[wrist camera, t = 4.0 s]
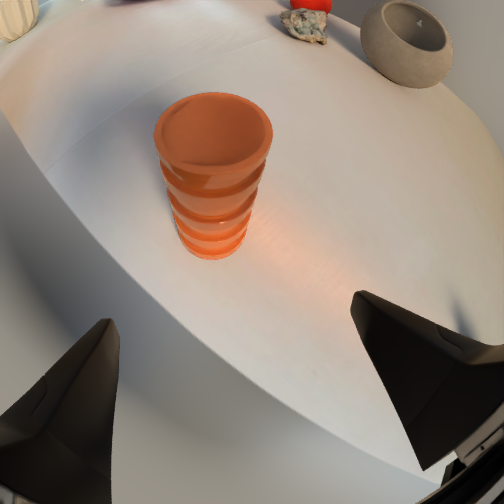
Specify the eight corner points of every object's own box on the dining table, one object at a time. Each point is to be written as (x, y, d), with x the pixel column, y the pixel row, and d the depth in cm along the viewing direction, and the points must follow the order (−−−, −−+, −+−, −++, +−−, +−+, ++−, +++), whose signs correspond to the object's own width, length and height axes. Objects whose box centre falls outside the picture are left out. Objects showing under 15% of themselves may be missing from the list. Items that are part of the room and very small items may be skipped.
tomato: (287, 14, 45) (293, -10, 38) (288, 3, 49) (293, -17, 42) (329, 25, 46) (338, 2, 39) (325, 13, 50) (332, -7, 43)
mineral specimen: (294, 58, 45) (311, 36, 46) (325, 52, 39) (341, 30, 40) (266, 24, 38) (287, 5, 39) (297, 13, 32) (317, -5, 33)
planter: (341, 55, 40) (372, -19, 23) (355, 49, 43) (384, -16, 25) (420, 111, 38) (469, 43, 20) (426, 101, 40) (470, 40, 23)
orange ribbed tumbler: (205, 273, 24) (195, 198, 11) (166, 221, 25) (134, 121, 12) (259, 234, 25) (297, 139, 13) (219, 187, 27) (226, 80, 14)
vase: (38, 29, 40) (24, -31, 14) (-7, 56, 35) (-27, 3, 9) (49, 14, 45) (38, -37, 19) (8, 37, 40) (-7, -10, 14)
